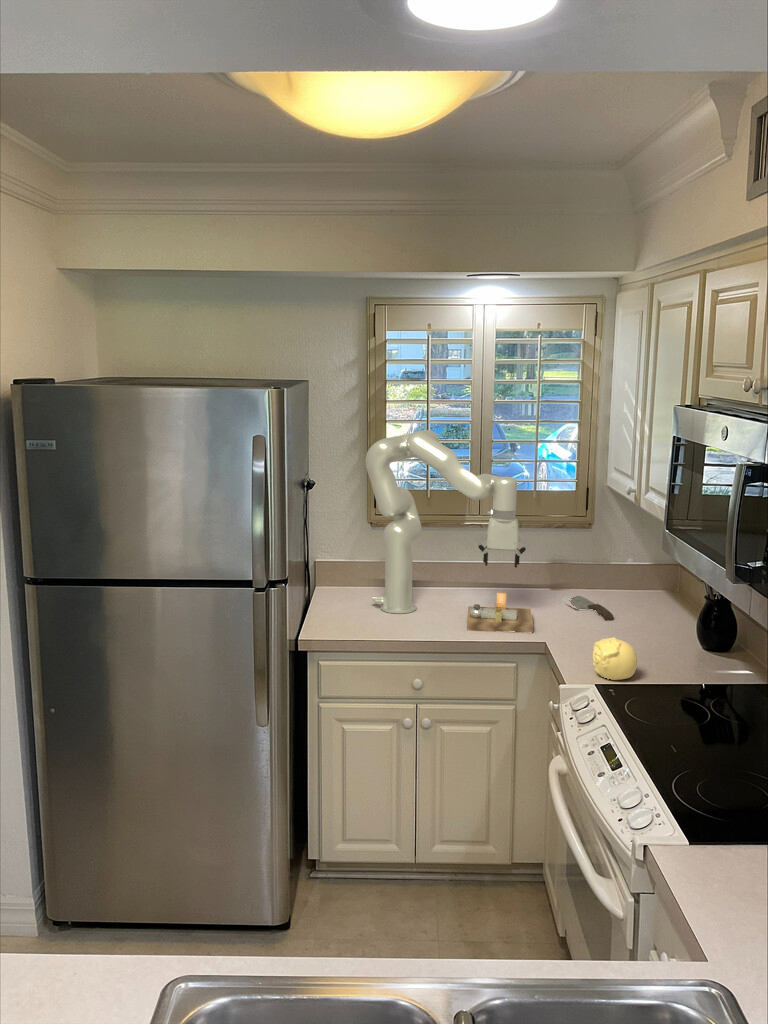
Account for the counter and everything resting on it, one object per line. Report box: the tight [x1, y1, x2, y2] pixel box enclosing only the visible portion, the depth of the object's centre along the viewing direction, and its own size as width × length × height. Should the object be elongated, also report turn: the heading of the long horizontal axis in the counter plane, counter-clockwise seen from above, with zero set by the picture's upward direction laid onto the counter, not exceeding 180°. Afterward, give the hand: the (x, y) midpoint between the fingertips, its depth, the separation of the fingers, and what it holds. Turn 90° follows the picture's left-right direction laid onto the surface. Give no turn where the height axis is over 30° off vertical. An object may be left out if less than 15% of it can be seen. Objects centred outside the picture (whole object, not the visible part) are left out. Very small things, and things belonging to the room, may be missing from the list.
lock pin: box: [496, 591, 508, 610], centre depth 278 cm, size 3×3×10 cm
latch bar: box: [470, 607, 517, 620], centre depth 273 cm, size 15×4×2 cm, turn 78°
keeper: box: [494, 602, 502, 622], centre depth 272 cm, size 2×7×4 cm, turn 173°
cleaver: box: [569, 595, 614, 621], centre depth 295 cm, size 29×10×2 cm, turn 14°
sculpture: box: [592, 636, 638, 681], centre depth 231 cm, size 11×12×11 cm
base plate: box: [466, 603, 534, 633], centre depth 277 cm, size 21×17×7 cm
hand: (500, 565), depth 275 cm, fingers open, 9 cm apart
